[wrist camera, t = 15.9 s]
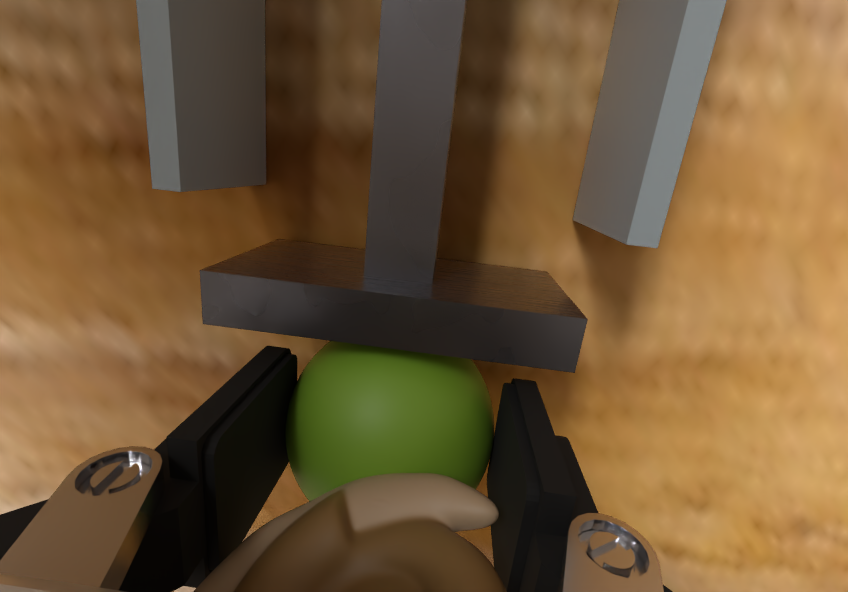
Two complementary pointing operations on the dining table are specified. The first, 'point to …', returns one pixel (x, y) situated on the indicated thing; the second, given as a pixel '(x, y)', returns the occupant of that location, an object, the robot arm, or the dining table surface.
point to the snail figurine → (378, 480)
